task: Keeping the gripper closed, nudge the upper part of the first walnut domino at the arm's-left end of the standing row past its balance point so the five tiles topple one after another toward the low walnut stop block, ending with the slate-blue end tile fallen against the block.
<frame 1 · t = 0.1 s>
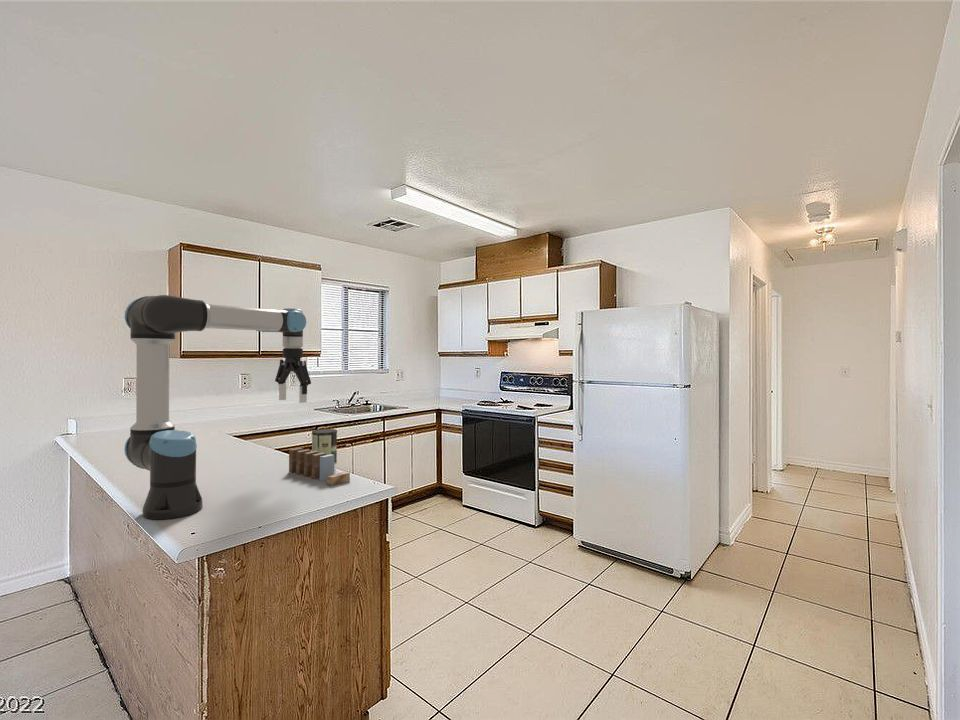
hand: (292, 401, 193), 28 cm above the countertop, fingers open, 13 cm apart
coffee can: (324, 464, 207), on the countertop
domino 3: (311, 475, 188), on the countertop
domino 1: (296, 471, 193), on the countertop
domino 2: (303, 473, 191), on the countertop
stop block: (338, 482, 179), on the countertop
domino 4: (318, 477, 185), on the countertop
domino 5: (327, 479, 182), on the countertop
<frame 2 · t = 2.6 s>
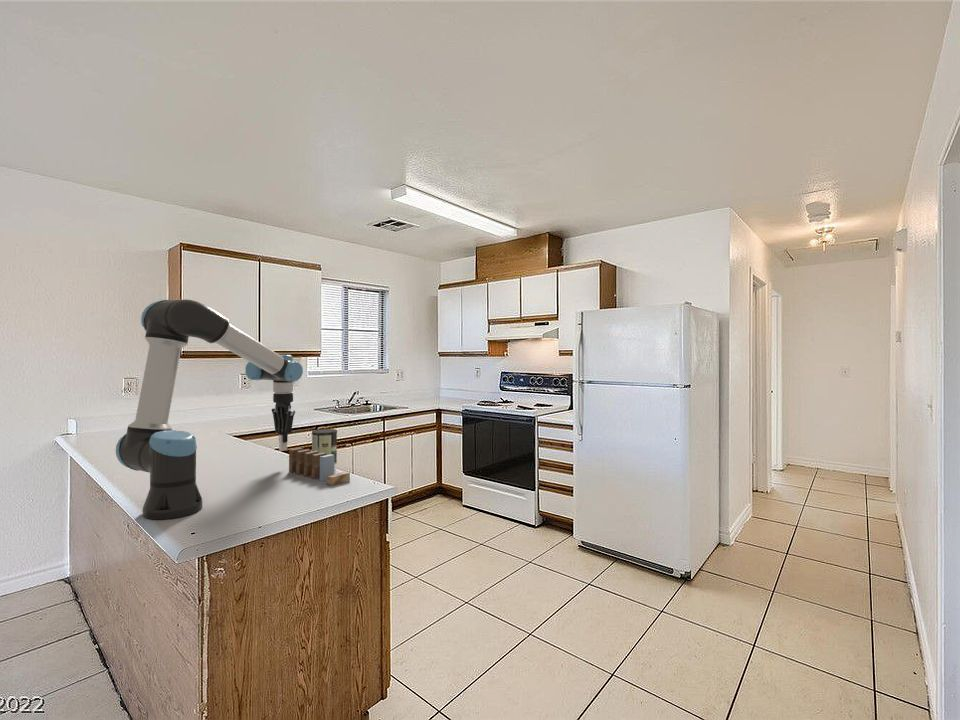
hand: (283, 450, 198), 7 cm above the countertop, fingers closed
nothing on the countertop moved.
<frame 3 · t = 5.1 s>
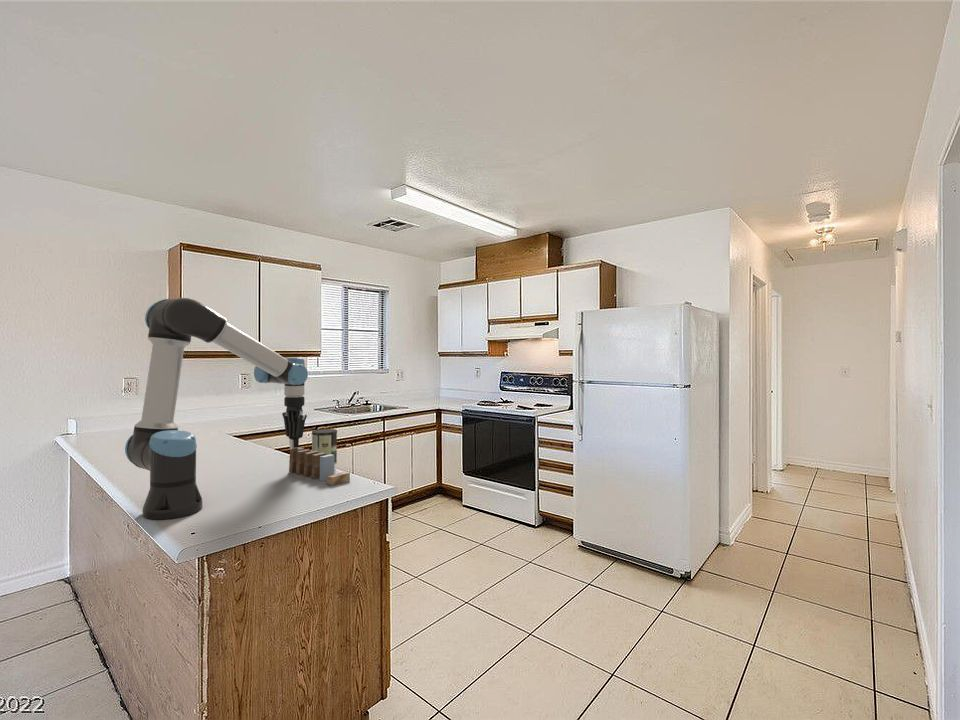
hand: (294, 455, 194), 6 cm above the countertop, fingers closed
nothing on the countertop moved.
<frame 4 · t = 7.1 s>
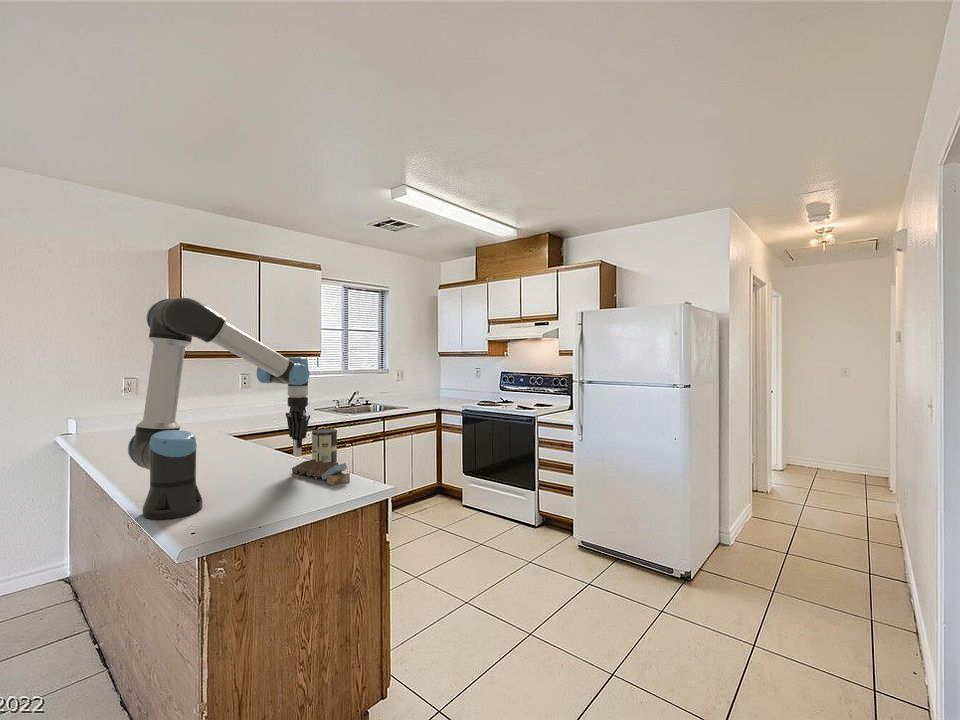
hand: (297, 455, 193), 6 cm above the countertop, fingers closed
domino 3: (312, 473, 187), point 1 cm above the countertop, tilted 60°, touching domino 2, domino 4
domino 1: (297, 469, 193), point 1 cm above the countertop, tilted 64°, touching domino 2
domino 2: (305, 471, 190), point 1 cm above the countertop, tilted 63°, touching domino 1, domino 3
domino 4: (320, 475, 185), point 1 cm above the countertop, tilted 58°, touching domino 3, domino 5
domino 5: (327, 476, 182), point 1 cm above the countertop, tilted 58°, touching domino 4, stop block
everything else where it was.
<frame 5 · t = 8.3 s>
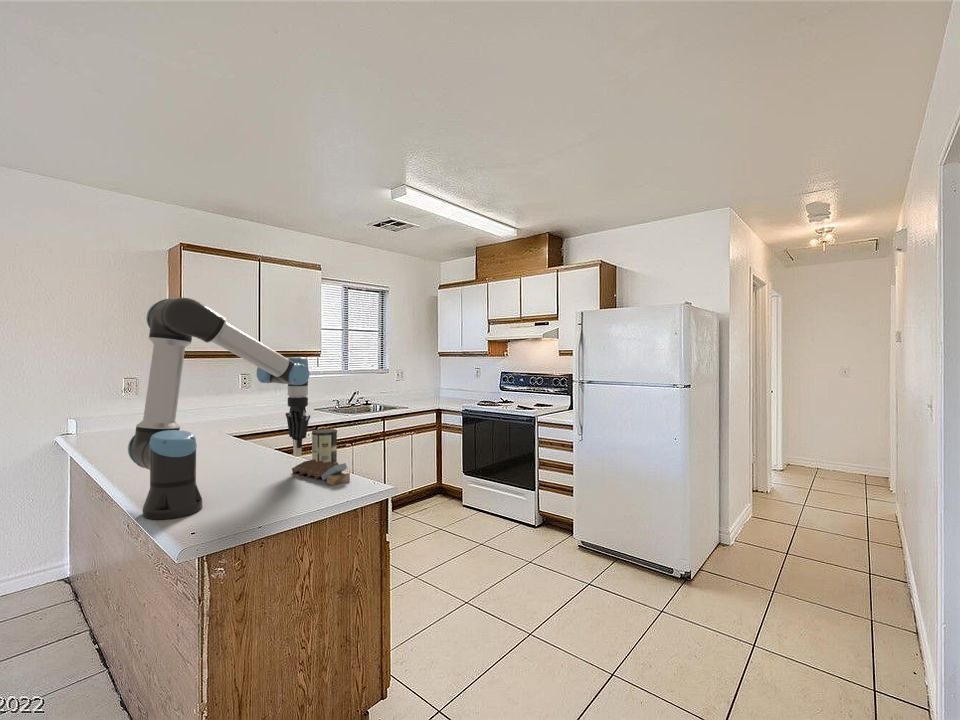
hand: (297, 455, 193), 6 cm above the countertop, fingers closed
nothing on the countertop moved.
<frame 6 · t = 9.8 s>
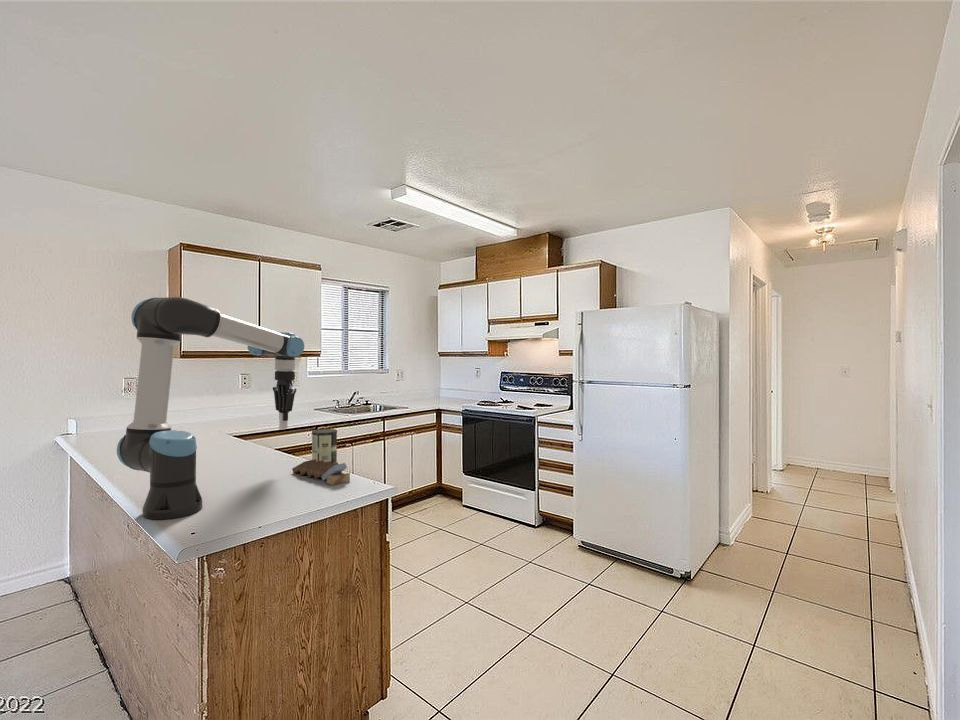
hand: (283, 428, 197), 16 cm above the countertop, fingers closed
domino 3: (313, 473, 187), point 1 cm above the countertop, tilted 59°, touching domino 4
domino 2: (305, 471, 190), point 1 cm above the countertop, tilted 62°, touching domino 1
everything else where it was.
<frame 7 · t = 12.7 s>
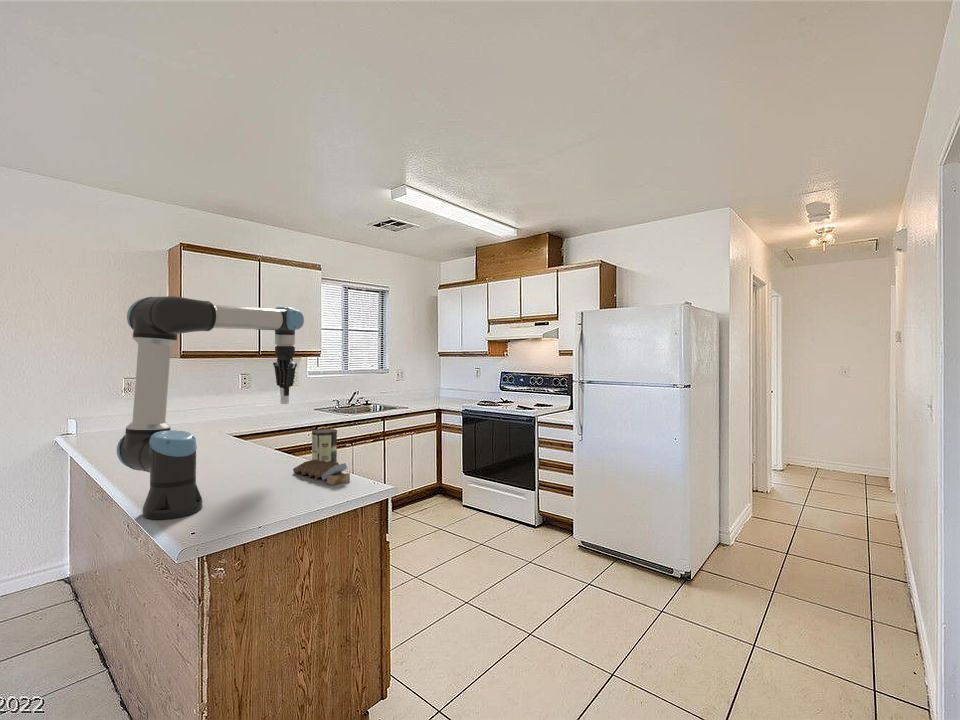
hand: (284, 403, 197), 26 cm above the countertop, fingers closed
domino 3: (314, 474, 187), point 1 cm above the countertop, tilted 57°, touching domino 2, domino 4
domino 2: (306, 472, 189), point 1 cm above the countertop, tilted 61°, touching domino 1, domino 3
everything else where it was.
at the end: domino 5 tilted 57°; domino 3 tilted 57° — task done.
